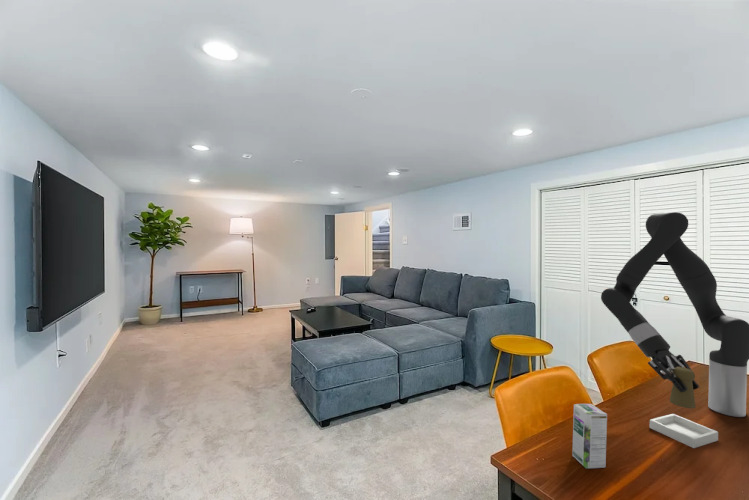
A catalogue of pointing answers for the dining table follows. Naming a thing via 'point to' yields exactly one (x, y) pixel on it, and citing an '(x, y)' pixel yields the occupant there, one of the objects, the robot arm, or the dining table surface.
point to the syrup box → (589, 436)
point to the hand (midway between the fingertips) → (690, 389)
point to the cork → (685, 397)
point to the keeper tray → (684, 430)
